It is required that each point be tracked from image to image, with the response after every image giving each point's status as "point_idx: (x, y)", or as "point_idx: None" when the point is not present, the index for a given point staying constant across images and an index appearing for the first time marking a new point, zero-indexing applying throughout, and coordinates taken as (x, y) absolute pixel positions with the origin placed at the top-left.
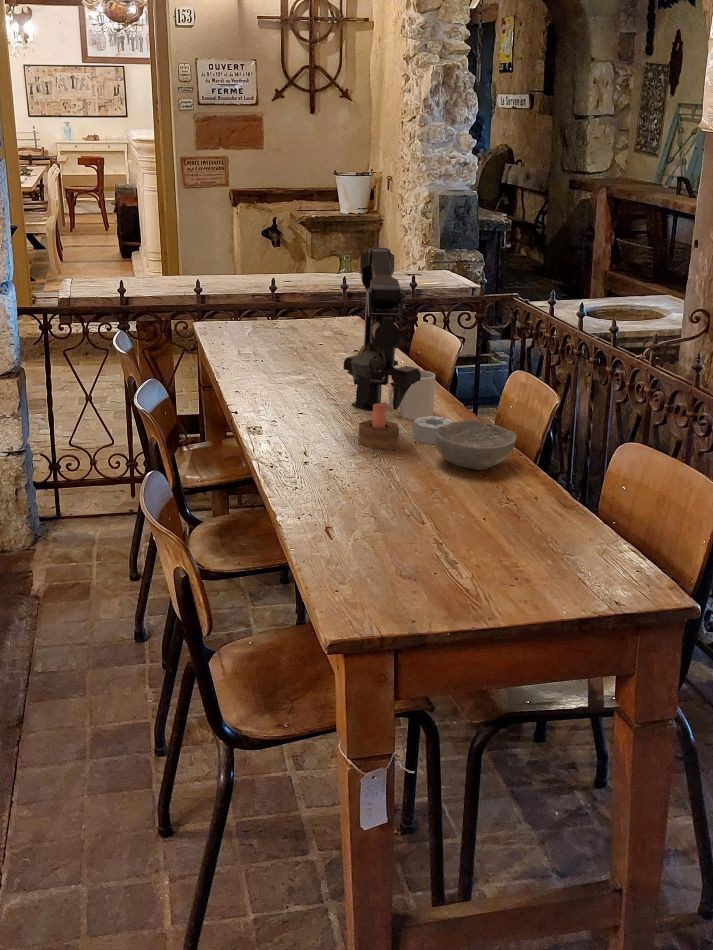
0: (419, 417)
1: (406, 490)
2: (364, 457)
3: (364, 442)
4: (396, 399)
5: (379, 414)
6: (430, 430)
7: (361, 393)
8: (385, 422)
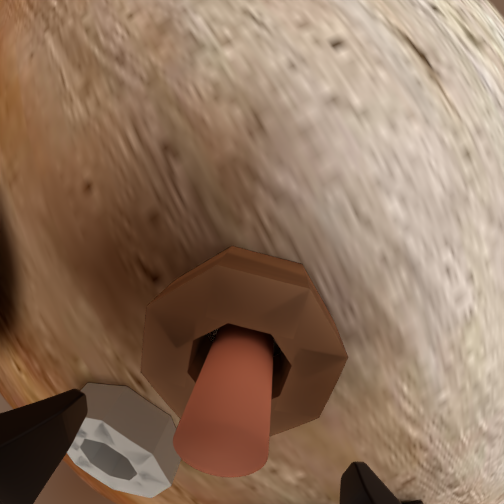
0: (167, 486)
1: (29, 14)
2: (203, 120)
3: (274, 260)
4: (6, 413)
5: (204, 386)
6: None
7: (385, 498)
8: None
